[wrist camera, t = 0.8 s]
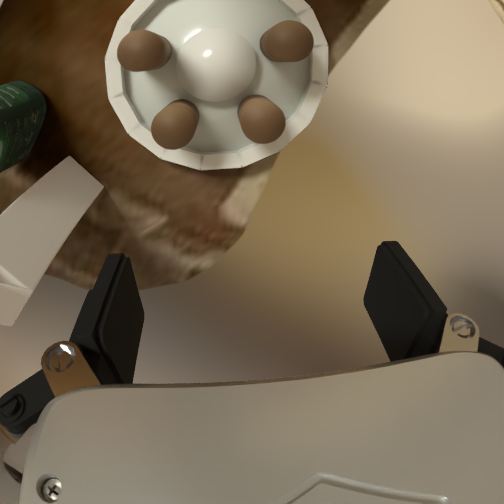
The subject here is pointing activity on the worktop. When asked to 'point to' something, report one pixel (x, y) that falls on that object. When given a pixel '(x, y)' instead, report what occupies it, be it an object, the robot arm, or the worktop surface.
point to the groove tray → (216, 75)
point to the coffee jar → (19, 121)
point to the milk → (40, 231)
